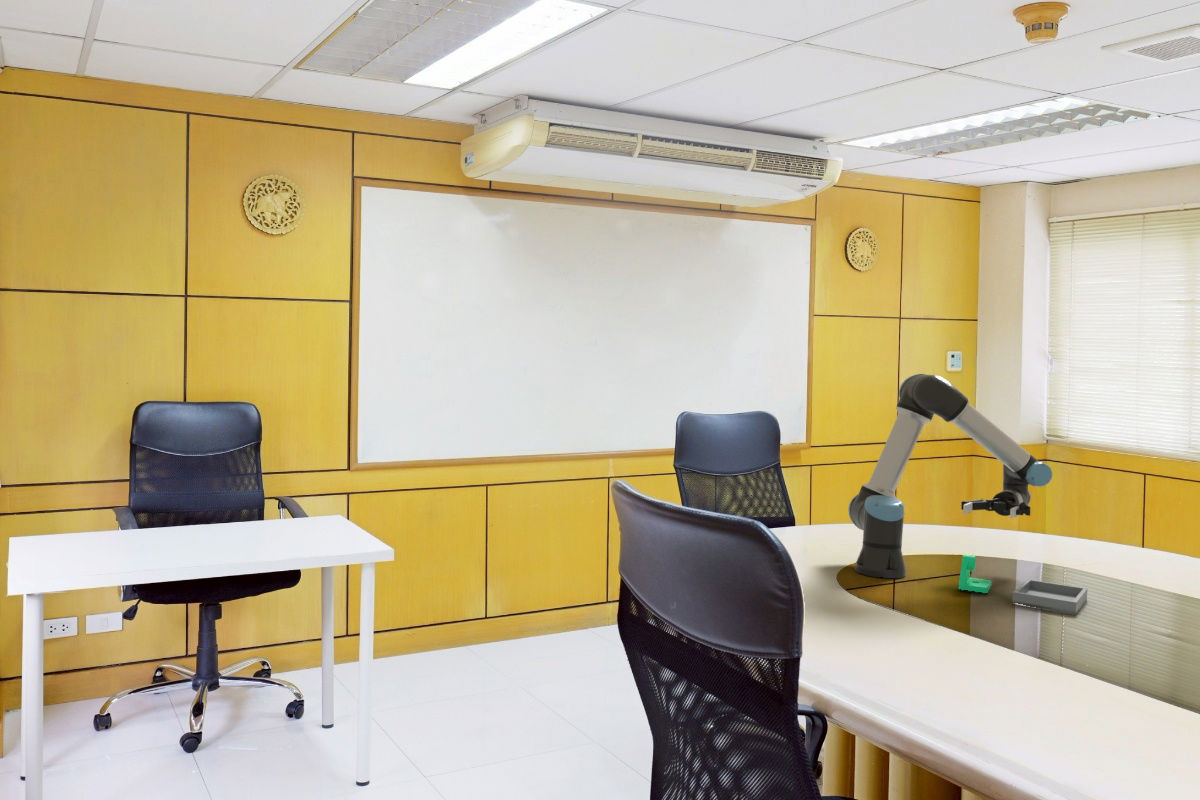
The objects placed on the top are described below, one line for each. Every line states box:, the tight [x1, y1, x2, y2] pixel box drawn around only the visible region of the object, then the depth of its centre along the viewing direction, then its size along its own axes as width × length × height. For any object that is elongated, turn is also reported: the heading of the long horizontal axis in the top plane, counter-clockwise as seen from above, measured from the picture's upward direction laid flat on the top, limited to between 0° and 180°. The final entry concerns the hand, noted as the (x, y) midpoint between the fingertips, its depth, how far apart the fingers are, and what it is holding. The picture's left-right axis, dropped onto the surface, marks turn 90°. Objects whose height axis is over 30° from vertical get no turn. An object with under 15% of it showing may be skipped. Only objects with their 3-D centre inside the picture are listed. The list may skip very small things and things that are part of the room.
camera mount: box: [958, 553, 992, 594], centre depth 291 cm, size 12×8×10 cm, turn 152°
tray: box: [1011, 578, 1088, 616], centre depth 280 cm, size 16×22×4 cm
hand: (987, 511), depth 297 cm, fingers open, 13 cm apart
